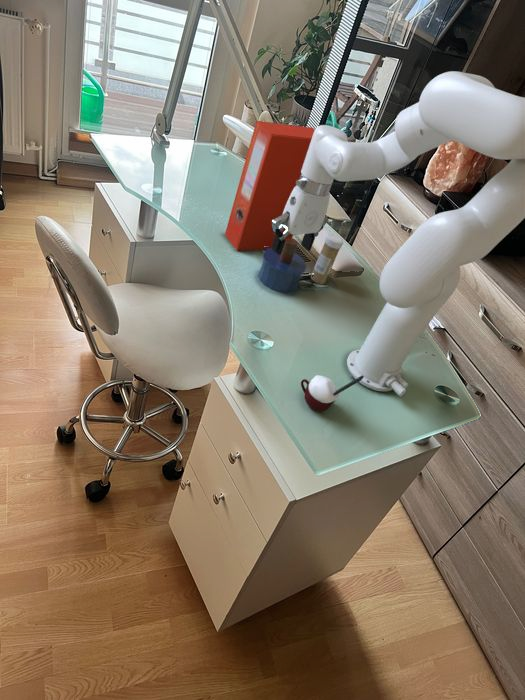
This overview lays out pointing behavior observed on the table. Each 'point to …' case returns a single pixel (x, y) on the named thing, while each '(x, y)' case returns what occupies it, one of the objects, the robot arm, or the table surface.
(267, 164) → the file binder
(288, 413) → the table surface
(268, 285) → the pot
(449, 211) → the robot arm
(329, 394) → the cocoa
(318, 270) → the sprinkles bottle
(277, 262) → the pot lid
